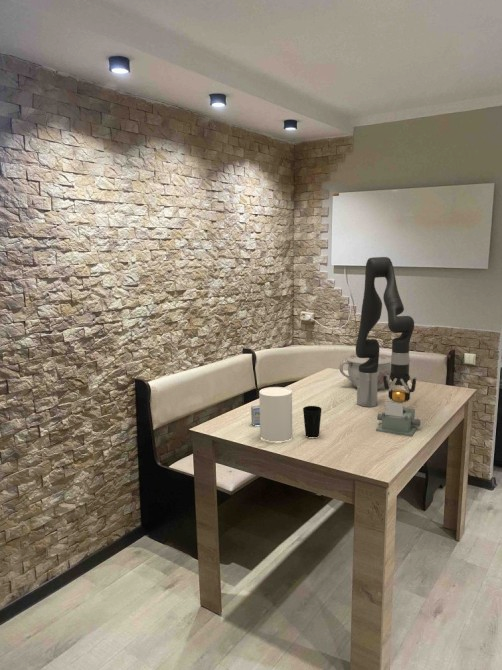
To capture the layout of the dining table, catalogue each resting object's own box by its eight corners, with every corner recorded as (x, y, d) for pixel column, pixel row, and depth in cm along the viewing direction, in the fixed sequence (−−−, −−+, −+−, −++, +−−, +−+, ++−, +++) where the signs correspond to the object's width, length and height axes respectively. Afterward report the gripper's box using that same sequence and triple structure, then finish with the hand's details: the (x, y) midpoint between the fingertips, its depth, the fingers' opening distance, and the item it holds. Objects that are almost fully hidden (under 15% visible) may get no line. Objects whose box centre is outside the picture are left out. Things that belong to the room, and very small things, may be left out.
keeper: (385, 417, 211) (385, 401, 208) (386, 415, 212) (385, 400, 209) (402, 419, 208) (402, 404, 205) (403, 418, 209) (402, 402, 206)
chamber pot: (400, 384, 286) (401, 348, 283) (387, 396, 263) (388, 358, 260) (353, 378, 301) (353, 345, 297) (337, 390, 277) (337, 353, 274)
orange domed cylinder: (389, 414, 216) (390, 392, 214) (393, 410, 221) (393, 388, 219) (404, 416, 213) (405, 393, 211) (407, 412, 218) (408, 390, 216)
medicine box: (253, 427, 222) (253, 408, 220) (251, 424, 226) (250, 405, 224) (270, 425, 224) (270, 406, 222) (267, 422, 228) (267, 403, 227)
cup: (309, 431, 215) (309, 404, 213) (324, 435, 210) (324, 407, 208) (299, 436, 209) (299, 409, 207) (315, 440, 204) (315, 412, 203)
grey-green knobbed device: (372, 430, 214) (372, 412, 213) (382, 417, 230) (383, 401, 229) (415, 437, 206) (416, 418, 205) (423, 423, 221) (424, 406, 220)
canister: (286, 445, 200) (286, 397, 197) (255, 441, 205) (254, 394, 202) (296, 433, 213) (296, 388, 209) (266, 430, 218) (265, 385, 214)
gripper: (381, 362, 213) (380, 400, 216) (415, 365, 206) (414, 404, 209) (385, 359, 220) (384, 395, 223) (419, 361, 213) (417, 399, 216)
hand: (399, 399), depth 216 cm, fingers closed on orange domed cylinder, 6 cm apart
